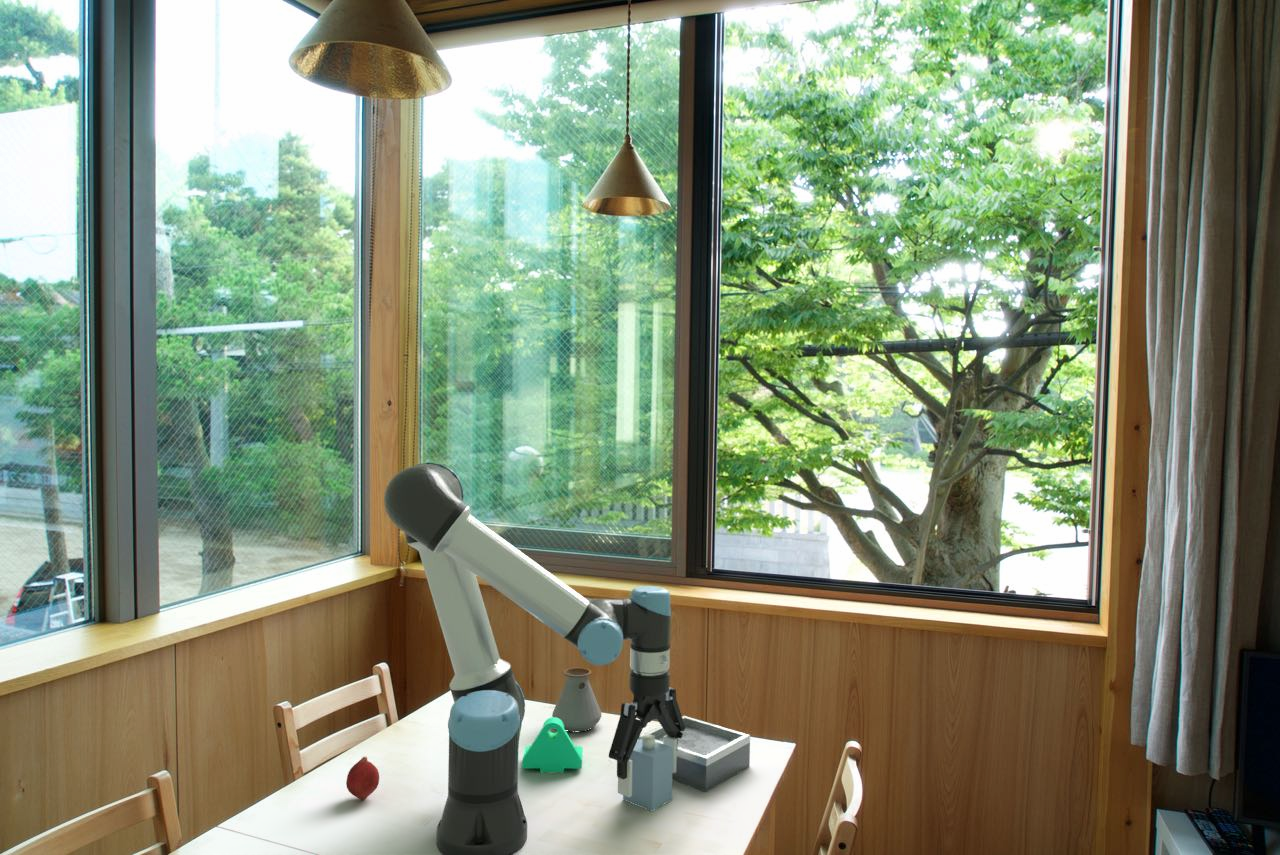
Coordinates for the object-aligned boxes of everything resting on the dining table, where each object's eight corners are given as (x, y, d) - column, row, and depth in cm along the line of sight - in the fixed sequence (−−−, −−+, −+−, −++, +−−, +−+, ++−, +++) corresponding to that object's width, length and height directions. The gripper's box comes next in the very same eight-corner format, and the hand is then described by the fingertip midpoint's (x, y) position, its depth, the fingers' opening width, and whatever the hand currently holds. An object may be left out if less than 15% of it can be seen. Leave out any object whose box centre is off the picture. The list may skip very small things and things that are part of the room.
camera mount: (582, 758, 175) (583, 709, 175) (581, 773, 168) (582, 723, 168) (525, 758, 175) (526, 709, 175) (522, 773, 167) (523, 722, 167)
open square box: (705, 792, 160) (706, 758, 160) (637, 767, 171) (638, 736, 171) (749, 766, 172) (750, 735, 172) (683, 744, 183) (683, 715, 183)
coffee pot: (551, 718, 198) (552, 655, 198) (598, 716, 199) (600, 654, 199) (554, 754, 177) (556, 684, 177) (608, 752, 178) (609, 682, 178)
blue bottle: (652, 811, 152) (653, 746, 152) (623, 799, 156) (624, 736, 156) (671, 800, 156) (673, 736, 156) (642, 789, 161) (644, 727, 161)
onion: (344, 808, 151) (345, 764, 151) (347, 794, 156) (347, 751, 156) (378, 804, 152) (379, 761, 152) (379, 791, 158) (380, 749, 158)
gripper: (622, 690, 144) (620, 811, 144) (703, 659, 163) (702, 766, 164) (590, 681, 149) (588, 798, 149) (673, 652, 168) (671, 756, 168)
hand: (647, 782), depth 156 cm, fingers open, 13 cm apart
